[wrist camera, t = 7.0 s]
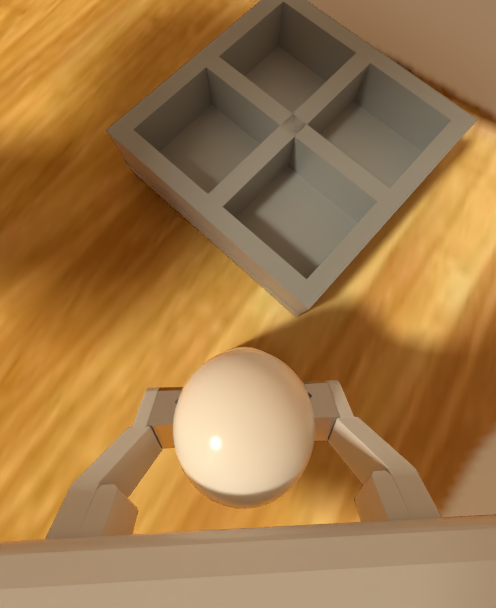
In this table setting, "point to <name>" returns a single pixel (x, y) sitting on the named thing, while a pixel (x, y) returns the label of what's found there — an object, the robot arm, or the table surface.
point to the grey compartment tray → (289, 144)
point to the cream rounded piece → (244, 428)
